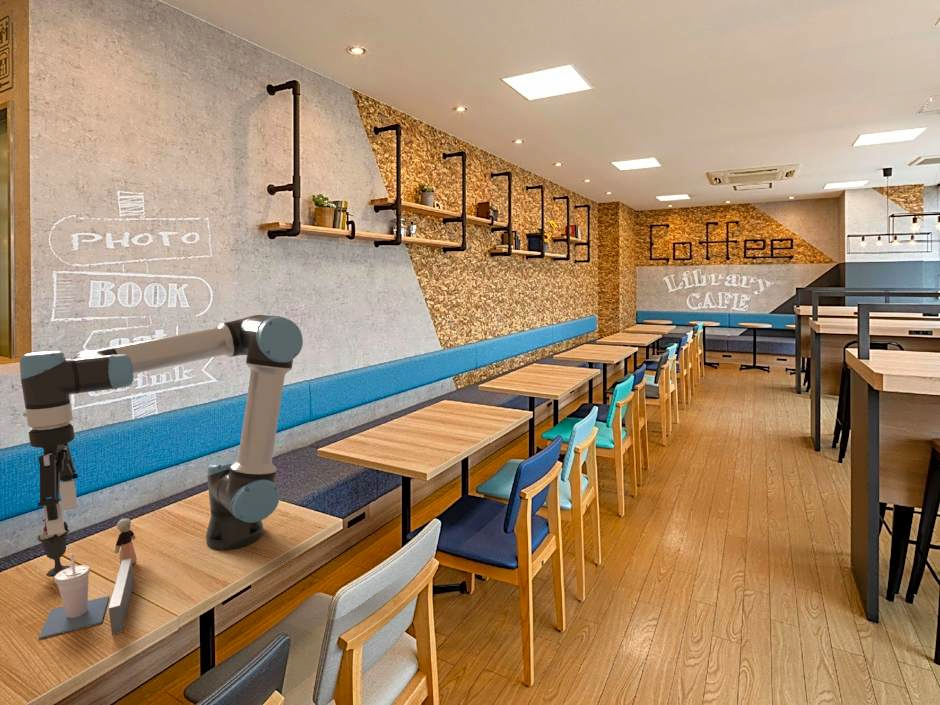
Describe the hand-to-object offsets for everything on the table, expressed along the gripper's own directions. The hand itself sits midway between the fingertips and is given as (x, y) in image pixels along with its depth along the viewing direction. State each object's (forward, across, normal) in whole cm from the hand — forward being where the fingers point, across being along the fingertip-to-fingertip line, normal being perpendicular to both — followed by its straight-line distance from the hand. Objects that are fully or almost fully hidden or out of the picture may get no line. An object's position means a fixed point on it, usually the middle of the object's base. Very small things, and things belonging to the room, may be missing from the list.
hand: (63, 520), depth 118 cm
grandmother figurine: (+23, -21, +8) cm, 32 cm away
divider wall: (+23, 0, +9) cm, 24 cm away
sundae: (+23, -26, -8) cm, 36 cm away
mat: (+23, 0, 0) cm, 23 cm away
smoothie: (+22, -1, 0) cm, 22 cm away
